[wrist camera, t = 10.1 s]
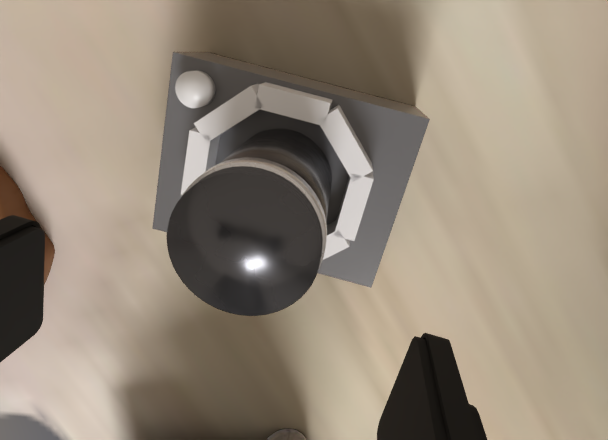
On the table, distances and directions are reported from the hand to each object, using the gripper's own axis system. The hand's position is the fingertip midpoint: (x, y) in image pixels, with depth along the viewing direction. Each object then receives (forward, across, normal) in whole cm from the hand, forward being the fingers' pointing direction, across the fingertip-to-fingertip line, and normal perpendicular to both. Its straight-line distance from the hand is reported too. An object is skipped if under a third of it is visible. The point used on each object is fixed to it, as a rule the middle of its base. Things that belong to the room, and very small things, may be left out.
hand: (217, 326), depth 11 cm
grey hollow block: (+17, +1, -1) cm, 17 cm away
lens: (+12, +1, -1) cm, 12 cm away
